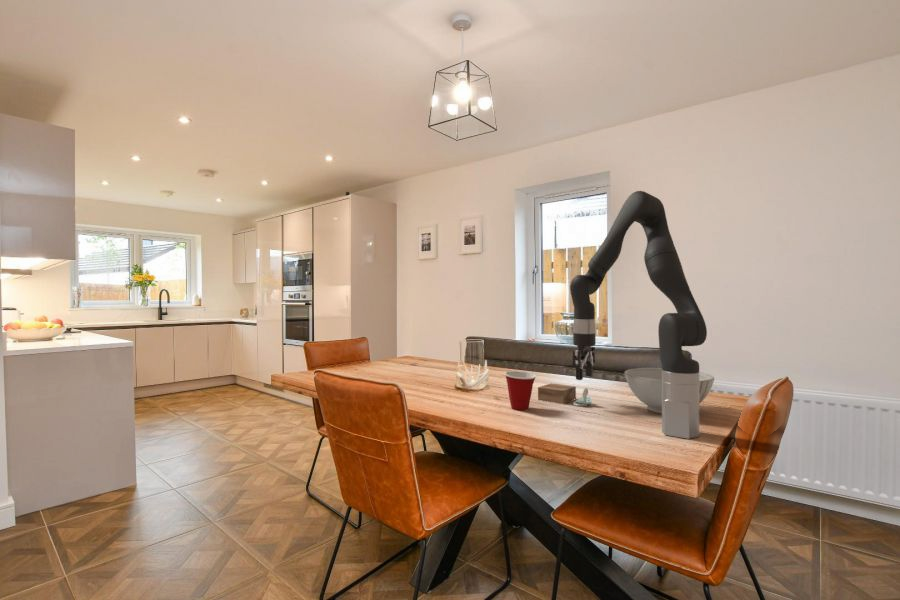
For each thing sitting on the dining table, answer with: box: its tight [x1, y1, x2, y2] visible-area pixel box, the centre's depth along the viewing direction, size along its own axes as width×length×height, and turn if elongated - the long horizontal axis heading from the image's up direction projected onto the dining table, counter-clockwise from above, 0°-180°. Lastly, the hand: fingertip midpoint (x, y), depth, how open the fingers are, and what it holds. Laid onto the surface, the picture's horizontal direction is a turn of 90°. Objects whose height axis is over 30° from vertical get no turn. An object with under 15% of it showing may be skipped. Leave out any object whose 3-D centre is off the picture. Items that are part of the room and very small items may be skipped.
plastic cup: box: [504, 370, 537, 411], centre depth 153 cm, size 11×11×12 cm
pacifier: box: [572, 387, 593, 407], centre depth 158 cm, size 7×6×6 cm
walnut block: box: [537, 382, 577, 405], centre depth 166 cm, size 10×10×5 cm
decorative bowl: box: [624, 367, 715, 414], centre depth 150 cm, size 27×27×12 cm
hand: (584, 377), depth 158 cm, fingers open, 8 cm apart
